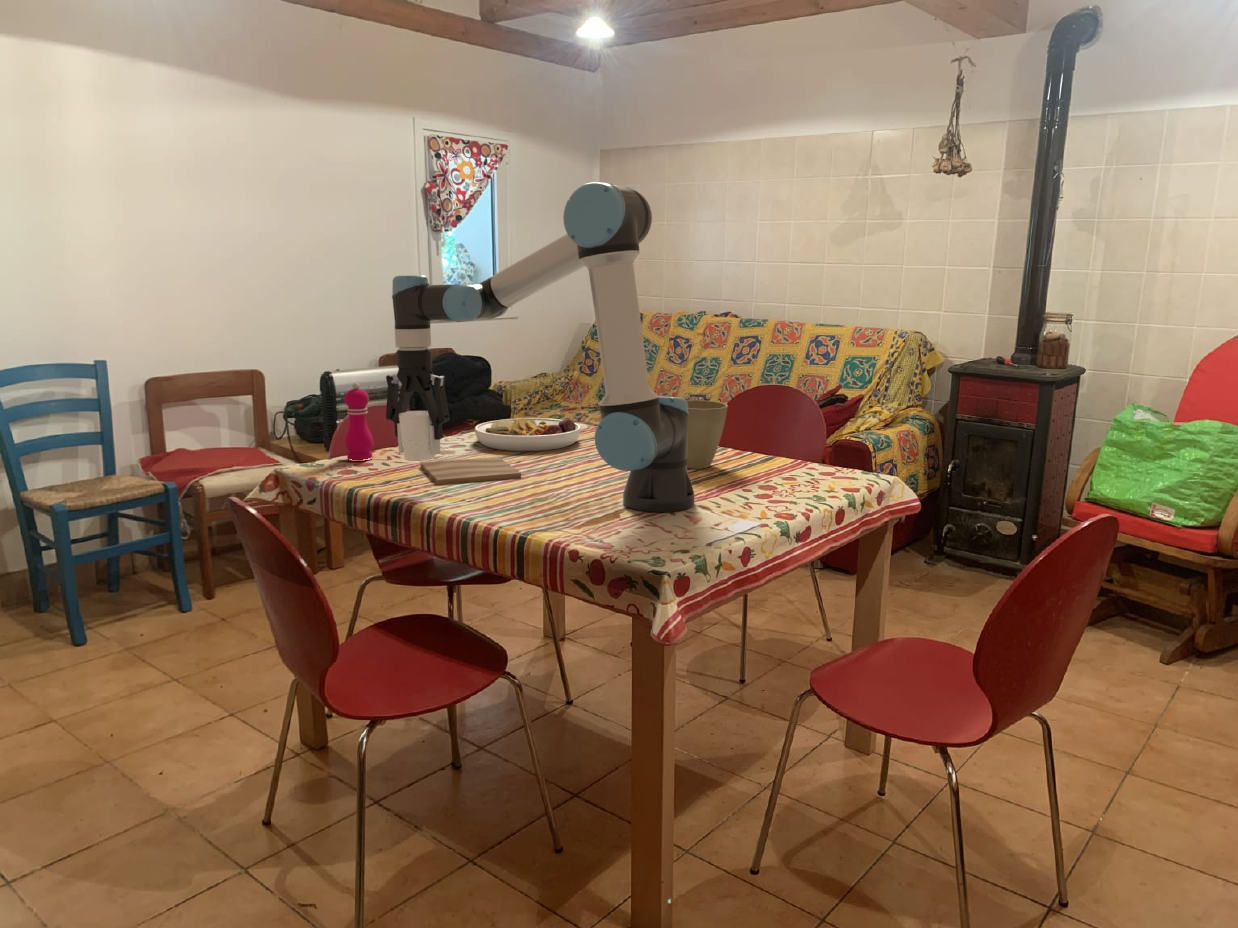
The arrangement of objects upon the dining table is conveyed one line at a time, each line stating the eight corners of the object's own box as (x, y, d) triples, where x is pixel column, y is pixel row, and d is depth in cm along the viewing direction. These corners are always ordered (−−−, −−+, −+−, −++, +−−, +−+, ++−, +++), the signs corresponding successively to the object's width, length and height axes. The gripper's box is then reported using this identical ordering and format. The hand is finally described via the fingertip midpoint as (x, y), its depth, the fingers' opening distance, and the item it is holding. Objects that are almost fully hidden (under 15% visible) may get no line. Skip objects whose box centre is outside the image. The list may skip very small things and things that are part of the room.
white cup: (429, 462, 192) (426, 416, 190) (395, 461, 193) (392, 415, 191) (443, 455, 199) (441, 411, 197) (410, 454, 201) (408, 410, 199)
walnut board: (521, 477, 212) (521, 472, 212) (437, 484, 204) (437, 479, 204) (498, 461, 230) (498, 456, 230) (420, 467, 222) (420, 462, 222)
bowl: (456, 450, 246) (455, 421, 244) (502, 432, 274) (501, 406, 272) (558, 457, 237) (558, 428, 236) (594, 438, 265) (594, 411, 264)
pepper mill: (367, 462, 227) (363, 384, 223) (340, 461, 228) (335, 384, 224) (379, 457, 234) (375, 381, 230) (353, 456, 235) (348, 380, 231)
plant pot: (669, 472, 218) (670, 408, 215) (664, 460, 233) (665, 399, 229) (730, 472, 219) (732, 408, 215) (721, 460, 233) (723, 400, 230)
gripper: (464, 348, 191) (468, 452, 196) (384, 346, 198) (391, 447, 203) (444, 350, 184) (450, 459, 189) (363, 349, 192) (370, 453, 196)
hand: (419, 452), depth 196 cm, fingers closed on white cup, 8 cm apart
